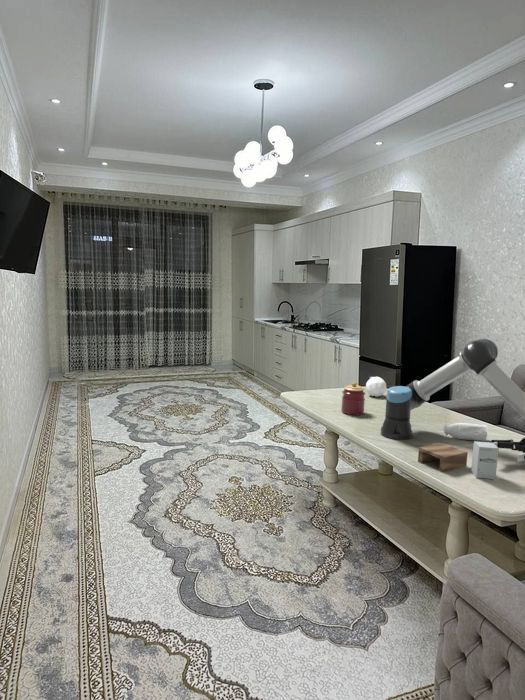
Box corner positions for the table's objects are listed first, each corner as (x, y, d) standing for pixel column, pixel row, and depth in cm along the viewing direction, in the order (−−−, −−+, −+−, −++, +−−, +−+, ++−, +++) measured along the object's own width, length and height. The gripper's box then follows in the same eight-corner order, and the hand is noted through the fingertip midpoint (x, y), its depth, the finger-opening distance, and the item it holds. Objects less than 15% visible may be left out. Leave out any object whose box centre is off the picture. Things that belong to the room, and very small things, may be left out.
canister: (362, 410, 285) (364, 380, 282) (365, 416, 272) (367, 385, 270) (340, 409, 286) (342, 379, 284) (341, 414, 273) (343, 384, 271)
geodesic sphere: (358, 388, 319) (371, 373, 315) (362, 384, 332) (375, 369, 327) (374, 403, 316) (389, 388, 311) (378, 398, 329) (392, 384, 324)
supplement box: (475, 478, 187) (478, 446, 186) (470, 471, 194) (473, 440, 193) (496, 480, 186) (499, 448, 184) (490, 472, 193) (493, 442, 192)
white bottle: (442, 435, 242) (443, 419, 241) (483, 438, 238) (484, 422, 236) (444, 439, 234) (445, 423, 233) (486, 443, 230) (488, 427, 229)
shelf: (417, 461, 204) (419, 447, 203) (440, 456, 211) (441, 442, 210) (443, 471, 193) (444, 457, 192) (466, 466, 200) (467, 452, 199)
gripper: (562, 463, 195) (531, 472, 184) (504, 445, 216) (473, 452, 206) (564, 445, 194) (533, 453, 183) (506, 428, 215) (475, 434, 205)
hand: (501, 452), depth 195 cm, fingers open, 13 cm apart
